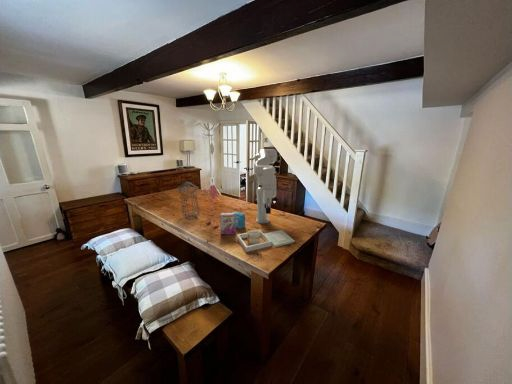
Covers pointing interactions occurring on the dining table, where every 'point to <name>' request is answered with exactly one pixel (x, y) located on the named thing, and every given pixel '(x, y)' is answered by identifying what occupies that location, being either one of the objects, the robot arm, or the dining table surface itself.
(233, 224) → the candy bar box
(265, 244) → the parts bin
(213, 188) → the figurine
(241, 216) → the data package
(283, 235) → the sage board
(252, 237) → the beech box
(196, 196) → the geometric lantern
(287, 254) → the dining table surface
